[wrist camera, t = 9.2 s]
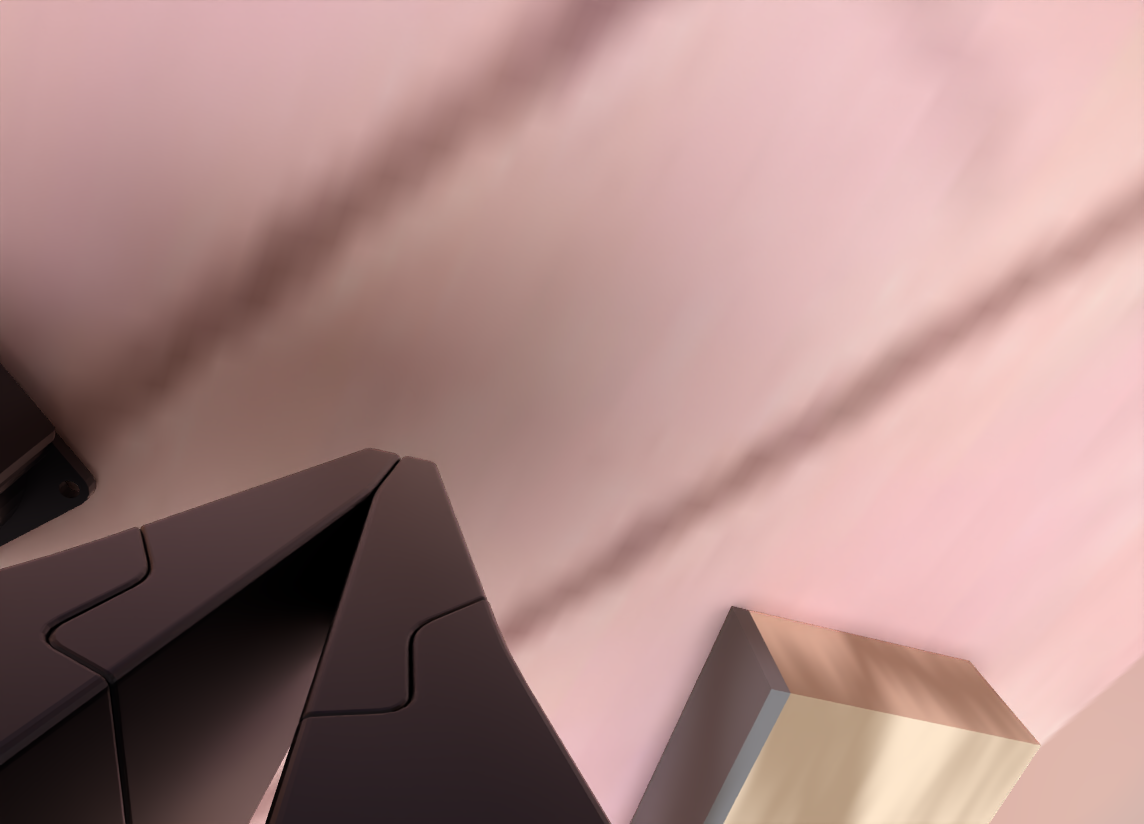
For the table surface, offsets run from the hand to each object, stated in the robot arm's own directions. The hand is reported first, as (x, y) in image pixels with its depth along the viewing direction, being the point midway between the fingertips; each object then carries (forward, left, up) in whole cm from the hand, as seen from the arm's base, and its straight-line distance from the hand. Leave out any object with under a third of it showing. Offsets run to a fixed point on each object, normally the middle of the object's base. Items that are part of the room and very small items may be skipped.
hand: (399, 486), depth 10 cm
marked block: (-1, -17, -10) cm, 20 cm away
